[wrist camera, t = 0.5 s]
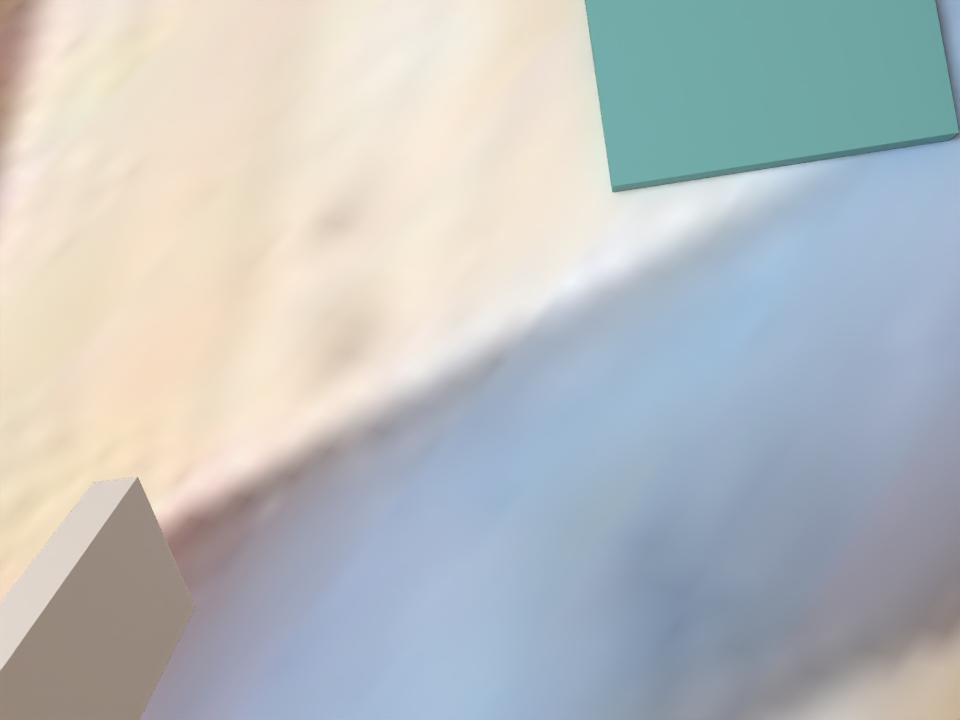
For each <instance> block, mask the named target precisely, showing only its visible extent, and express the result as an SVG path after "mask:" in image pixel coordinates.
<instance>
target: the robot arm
mask: <svg viewBox="0 0 960 720" xmlns="http://www.w3.org/2000/svg"><path fill="white" fill-rule="evenodd" d="M194 608H195V605H194V603H193V600H192V598H191V596H190V594H189V591H188V589H187V587H186V584H185V582H184V580H183V578H182V575H181V573H180V571H179V569H178V566H177V564H176V562H175V560H174V557H173V555H172V553H171V551H170V548H169V546H168V544H167V542H166V539H165V537H164V535H163V533H162V530H161V528H160V526H159V524H158V521H157V519H156V517H155V515H154V512H153V510H152V508H151V506H150V503H149V501H148V499H147V497H146V494H145V492H144V490H143V488H142V485H141V483H140V481H139V478H138V477H131V478H123V479H116V480H108V481H101V482H94V483H93V484H92V485H91V487H90V488H89V489H88V490H87V492H86V493H85V494H84V496H83V497H82V498H81V499H80V501H79V502H78V503H77V505H76V506H75V507H74V508H73V510H72V511H71V512H70V514H69V515H68V516H67V517H66V519H65V520H64V521H63V523H62V524H61V525H60V526H59V528H58V529H57V530H56V532H55V533H54V534H53V536H52V537H51V538H50V539H49V541H48V542H47V543H46V545H45V546H44V547H43V548H42V550H41V551H40V552H39V554H38V555H37V556H36V557H35V559H34V560H33V561H32V563H31V564H30V565H29V566H28V568H27V569H26V570H25V572H24V573H23V574H22V575H21V577H20V578H19V579H18V581H17V582H16V583H15V584H14V586H13V587H12V588H11V590H10V591H9V592H8V594H7V595H6V596H5V597H4V599H3V600H2V601H1V603H0V720H140V718H141V716H142V714H143V712H144V710H145V708H146V706H147V704H148V701H149V699H150V697H151V695H152V693H153V691H154V689H155V687H156V685H157V683H158V681H159V679H160V677H161V675H162V673H163V671H164V669H165V667H166V665H167V663H168V661H169V659H170V657H171V655H172V653H173V651H174V649H175V647H176V645H177V643H178V641H179V639H180V637H181V635H182V633H183V631H184V628H185V626H186V624H187V622H188V620H189V618H190V616H191V614H192V612H193V610H194Z"/></svg>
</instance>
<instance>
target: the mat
mask: <svg viewBox="0 0 960 720" xmlns="http://www.w3.org/2000/svg"><path fill="white" fill-rule="evenodd" d="M585 4H586V11H587V18H588V25H589V32H590V39H591V46H592V53H593V60H594V67H595V74H596V81H597V88H598V95H599V102H600V109H601V116H602V123H603V130H604V137H605V144H606V151H607V158H608V165H609V172H610V179H611V186H612V192H617V191H624V190H630V189H637V188H643V187H650V186H656V185H663V184H669V183H676V182H682V181H688V180H695V179H701V178H708V177H714V176H721V175H727V174H734V173H740V172H747V171H753V170H760V169H766V168H773V167H779V166H785V165H792V164H798V163H805V162H811V161H818V160H824V159H831V158H837V157H844V156H850V155H857V154H863V153H870V152H876V151H882V150H889V149H895V148H902V147H908V146H915V145H921V144H928V143H934V142H941V141H947V140H950V139H952V138H953V137H954V136H956V135H957V134H958V133H959V129H958V123H957V118H956V112H955V107H954V101H953V96H952V90H951V85H950V79H949V74H948V68H947V63H946V57H945V52H944V46H943V41H942V35H941V30H940V24H939V19H938V13H937V8H936V2H935V0H585Z"/></svg>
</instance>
